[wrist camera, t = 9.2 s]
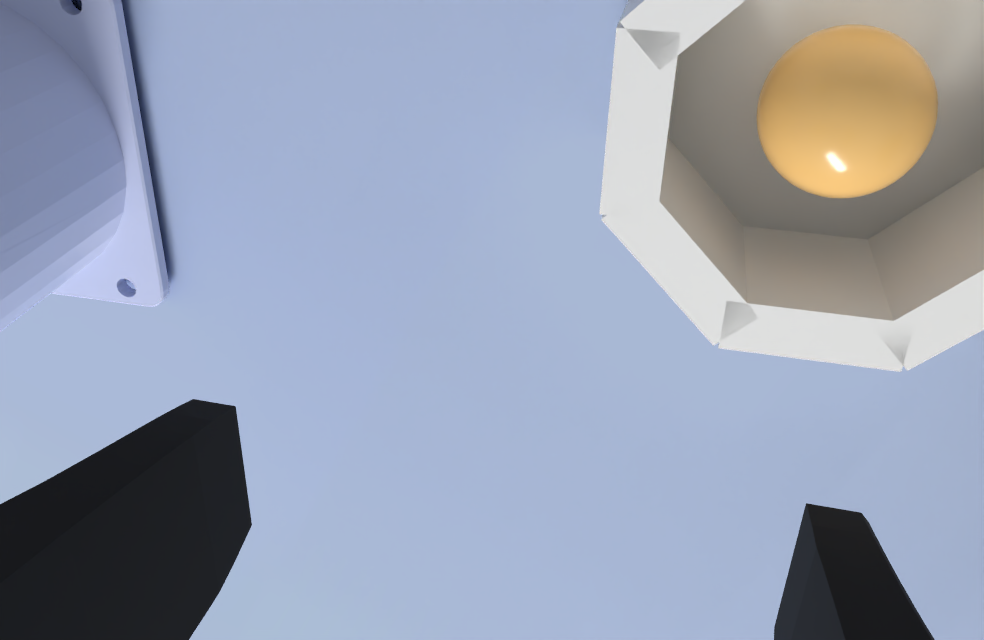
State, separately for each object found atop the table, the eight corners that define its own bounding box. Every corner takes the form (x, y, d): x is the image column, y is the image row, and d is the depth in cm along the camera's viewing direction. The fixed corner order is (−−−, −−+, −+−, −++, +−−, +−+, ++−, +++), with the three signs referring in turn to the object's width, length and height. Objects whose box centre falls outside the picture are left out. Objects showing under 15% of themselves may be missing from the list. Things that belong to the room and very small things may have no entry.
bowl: (610, 242, 21) (588, 331, 18) (649, -157, 17) (631, -141, 14) (989, 285, 20) (1045, 390, 16) (1131, -137, 16) (1245, -114, 12)
